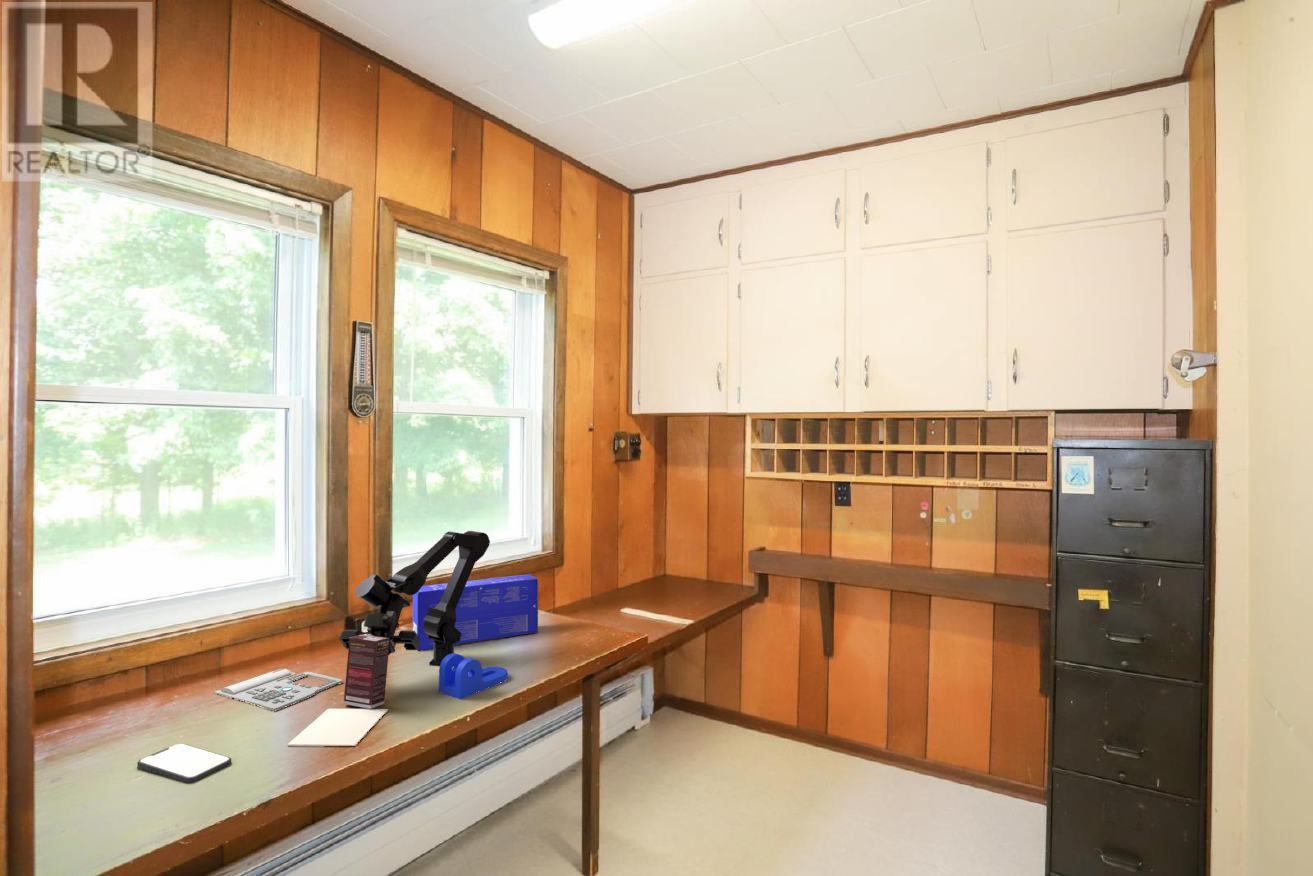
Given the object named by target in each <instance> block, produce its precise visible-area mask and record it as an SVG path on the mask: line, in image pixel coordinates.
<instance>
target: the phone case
mask: <svg viewBox="0 0 1313 876" xmlns="http://www.w3.org/2000/svg"><path fill="white" fill-rule="evenodd" d="M136 764H137V769H139V770H142V771H146V772H148V773H152V774H155V775H159V776H162V777H165V778H168V779H172V780H175V781H178V782H182V783H186V784H191V783H195V782H198V781H200V780H202V779H204V778H206V777H208V776H210V775H212V774H214V773H216V772H218V771H221V770H223V769H224V768H227V767H229V766H230V765H231V764H232V758H231V757H229V756H226V755H223V754H220V753H216V752H213V751H209V750H206V749H203V748H199V747H196V746H192V745H189V744H187V743H176V744H173V745H170V746H169V747H166V748H163V749H161V750H159V751H157V752H155V753H152V754H149V755H147V756H145V757H143V758H139V760H138V761H137V763H136ZM228 765H229V766H228ZM220 769H221V770H220Z"/></svg>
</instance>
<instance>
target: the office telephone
mask: <svg viewBox="0 0 1313 876" xmlns="http://www.w3.org/2000/svg"><path fill="white" fill-rule="evenodd" d="M295 674H296V672H293V671H291V670H289V669H287V668H286V667H282V668H280V669H277V670H273V671H270V672H267V673H264V674H261V675H258V676H255V677H252V678H249V679H247V680H244V681H241V682H238V683H234V684H231V685H228V686H226V687H222V688H221V689H218V690H215V691H214V694H215V693H217V694H219V695H218V696H220V695H223V696H230V697H232V698H235V699H238V700H244V701H247V702H250V703H252V704H255V705H259V706H262V707H264V708H266V709H268V710H267V711H269V710H272V711H271V712H273V711H275V710H278V711H280V709H281V708H283V709H285V708H284V707H285V706H288V705H291V704H293V703H295V702H298V701H300V700H303V701H305V700H304V699H306V698H308V697H310V696H313V695H315V696H316V694H317V693H316V692H318V691H321V692H323V691H322V690H324V689H326V688H328V687H331V688H333V687H332V686H334V685H336V684H339V683H342V684H343V679H342V678H337V677H334V676H330V675H325V674H320V673H316V672H312V671H304V672H301V673H298V674H296V675H295ZM293 675H295V676H293ZM291 676H293V677H291ZM306 676H311V677H315V678H314V679H316V678H322V679H325V680H328V681H329V682H328V681H326V682H324V683H321V684H320V685H316V686H311V685H307V684H302V683H299V682H292V681H294V680H296V679H299V678H303V677H306ZM289 677H290V678H289ZM311 677H310V678H311ZM284 678H287V679H284ZM306 678H307V677H306ZM282 679H284V680H282ZM303 679H304V678H303ZM280 680H281V681H280ZM277 681H278V682H277ZM339 685H340V684H339ZM336 686H337V685H336ZM334 687H335V686H334ZM326 690H327V689H326ZM324 691H325V690H324ZM315 693H316V694H315ZM217 694H216V695H217ZM223 696H222V697H223ZM313 697H314V696H313ZM310 698H311V697H310ZM308 699H309V698H308ZM306 700H307V699H306ZM298 703H299V702H298ZM293 705H294V704H293ZM291 706H292V705H291ZM288 707H289V706H288ZM266 709H265V710H266ZM281 710H282V709H281ZM275 712H276V711H275Z"/></svg>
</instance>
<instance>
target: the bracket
mask: <svg viewBox="0 0 1313 876" xmlns="http://www.w3.org/2000/svg"><path fill="white" fill-rule="evenodd" d="M506 679H507V680H508V669H507V668H505V667H501V666H487V667H484V668H483V666H482V663H481V662H480V661H479V660H477V659H474V658H472V657H467V658H465V657H464V656H463V655H462V654H459V653H455V652H454V653H451V654H448V655H447V656H446V657H445V658H444V659H443V660H442V662H441V664H440V665H439V670H438V692H439V693H441V694H444V695H446V696H450V697H452V698H455V699H458V700H463V699H465V698H467V697H469V696H473V695H475V694H477V693H479V692H478V691H480V692H482V690H483V691H485V690H487V689H486V688H488V687H490V688H493V687H495V686H497V685H496V684H498V683H500V682H503V683H505V682H506V681H507V680H506ZM505 680H506V681H505ZM504 681H505V682H504ZM500 684H501V683H500ZM494 685H495V686H494ZM498 685H499V684H498ZM492 686H493V687H492ZM484 689H485V690H484ZM488 689H489V688H488ZM476 692H477V693H476ZM474 693H475V694H474ZM464 697H465V698H464Z"/></svg>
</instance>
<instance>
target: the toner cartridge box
mask: <svg viewBox="0 0 1313 876" xmlns="http://www.w3.org/2000/svg"><path fill="white" fill-rule="evenodd" d="M447 584H448V582H447V583H440V584H431V585H423V586H422V587H421V589H420V590H419V591H418V592H417V593H416V594H414V595H412V631H415V632H416V634H417V636H418V638H419V640H420V644H419V648H418V650H416V651H417V652H422V651H421V650H423V651H428V650H429V649H430V650H433V649H434V640H431V639H428V637H427V634H426V633H425V632H424V628H423V624H424V621H423V619H424V618H425V617H426V615H427V611H428V609H429V608H430V607H432V608H435V607H436V606H437V605H438V604H439V603H440V600H441V598H442V596H443V594H444V591H445V589H446V587H447ZM454 627H455V628H456V629H457V630H458V631H459V632H460V633H461V634H462V635H461V638H460V641H458V642H456V643H455V644H454V647H455V646H462V645H467V644H466V643H468V644H473V642H475V643H479V641H481V642H486V641H487V642H488V641H492V640H497V639H502V638H503V639H504V638H508V637H514V636H521V635H527V634H533V633H539V579H538V578H537V577H536V576H534V575H532V574H521V575H511V576H502V577H491V578H485V579H477V580H476V579H475V580H468V581H467V583H466V586H465V588H464V590H463V593H462V595H461V597H460V600H459V602H458V604H457V607H456V623H455V626H454ZM461 644H462V645H461Z"/></svg>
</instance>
